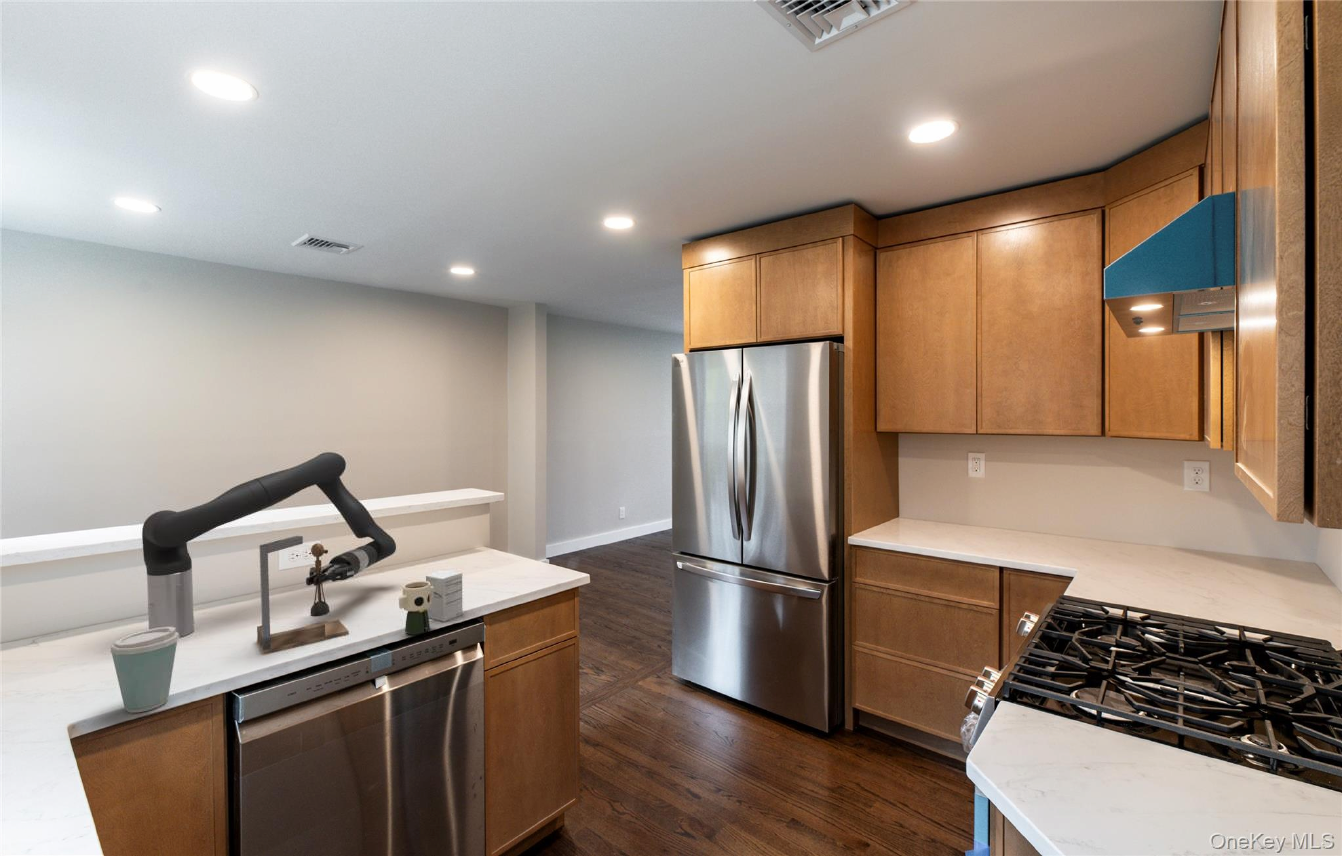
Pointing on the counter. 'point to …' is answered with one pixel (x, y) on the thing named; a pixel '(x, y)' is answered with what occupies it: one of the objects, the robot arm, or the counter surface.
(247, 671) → the counter surface
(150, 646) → the disposable coffee cup
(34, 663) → the counter surface
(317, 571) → the wooden tabletop sculpture
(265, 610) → the stand
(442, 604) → the supplement box
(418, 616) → the character mug
